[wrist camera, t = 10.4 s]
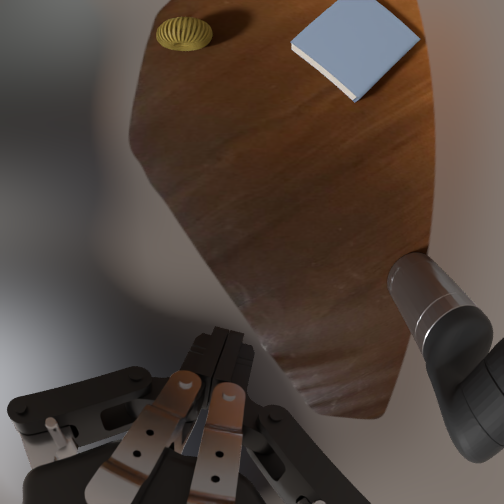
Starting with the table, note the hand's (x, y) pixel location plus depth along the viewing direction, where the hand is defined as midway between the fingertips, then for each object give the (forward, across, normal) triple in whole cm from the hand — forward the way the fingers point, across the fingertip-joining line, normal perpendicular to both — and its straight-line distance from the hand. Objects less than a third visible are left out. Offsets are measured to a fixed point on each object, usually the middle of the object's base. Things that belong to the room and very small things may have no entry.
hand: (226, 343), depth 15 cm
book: (+30, -3, -22) cm, 37 cm away
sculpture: (+31, +17, -24) cm, 43 cm away
